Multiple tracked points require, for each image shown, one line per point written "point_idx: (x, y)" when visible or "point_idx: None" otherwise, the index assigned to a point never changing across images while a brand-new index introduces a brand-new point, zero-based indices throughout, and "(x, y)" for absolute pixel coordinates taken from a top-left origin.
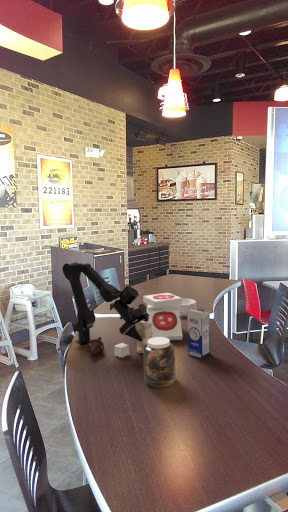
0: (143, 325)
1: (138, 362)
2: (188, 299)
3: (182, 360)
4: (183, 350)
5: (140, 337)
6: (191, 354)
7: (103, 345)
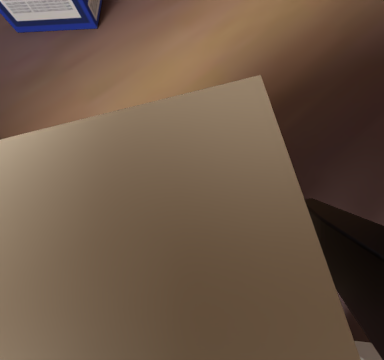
0: (287, 171)
1: (380, 172)
2: None
3: (177, 9)
4: (49, 84)
5: (340, 214)
6: (97, 5)
7: None
